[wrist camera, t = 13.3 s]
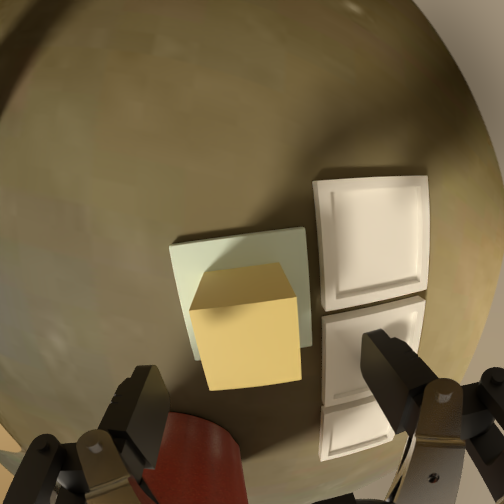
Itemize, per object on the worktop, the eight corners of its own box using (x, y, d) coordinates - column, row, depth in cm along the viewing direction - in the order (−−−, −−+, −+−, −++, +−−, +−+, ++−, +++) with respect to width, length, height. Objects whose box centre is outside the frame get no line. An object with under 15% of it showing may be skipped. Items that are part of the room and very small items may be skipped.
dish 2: (321, 316, 20) (326, 323, 19) (418, 295, 20) (425, 300, 19) (321, 399, 22) (324, 407, 21) (405, 375, 23) (410, 382, 21)
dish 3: (321, 406, 23) (324, 414, 21) (403, 382, 23) (408, 389, 22) (318, 453, 25) (320, 461, 24) (388, 433, 25) (392, 440, 24)
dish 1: (312, 181, 18) (316, 180, 17) (418, 175, 18) (427, 175, 17) (321, 304, 20) (325, 311, 19) (419, 284, 20) (426, 289, 19)
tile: (171, 243, 19) (168, 246, 18) (302, 226, 19) (305, 228, 18) (196, 354, 21) (195, 360, 20) (309, 340, 21) (312, 345, 20)
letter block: (204, 272, 18) (188, 310, 12) (280, 262, 18) (298, 296, 13) (216, 336, 19) (209, 390, 14) (286, 328, 20) (302, 379, 14)
